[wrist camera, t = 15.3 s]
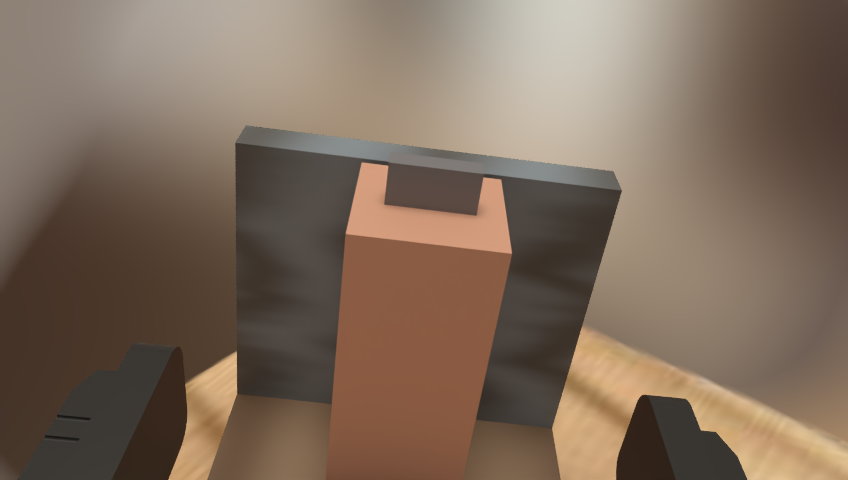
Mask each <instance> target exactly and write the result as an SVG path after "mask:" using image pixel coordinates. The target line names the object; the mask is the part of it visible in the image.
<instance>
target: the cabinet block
mask: <svg viewBox="0 0 848 480" xmlns="http://www.w3.org/2000/svg"><path fill="white" fill-rule="evenodd" d="M511 256H512V250H511V243H510V236H509V229H508V223H507V216H506V209H505V202H504V195H503V189H502V182H501V179H493V178H485V177H484V168H483V163H477V162H469V161H461V160H453V159H445V158H437V157H429V156H421V155H413V154H405V153H396V152H390V157H389V165H388V166H387V165H379V164H371V163H363V162H362V164H361V168H360V172H359V177H358V181H357V186H356V190H355V195H354V199H353V203H352V208H351V212H350V217H349V221H348V226H347V230H346V236H345V248H344V260H343V272H342V285H341V297H340V309H339V322H338V334H337V346H336V359H335V371H334V383H333V396H332V408H331V420H330V432H329V445H328V457H327V469H326V480H463V475H464V471H465V466H466V462H467V457H468V452H469V448H470V443H471V439H472V434H473V430H474V425H475V421H476V416H477V411H478V407H479V402H480V398H481V393H482V389H483V384H484V379H485V375H486V370H487V366H488V361H489V357H490V352H491V348H492V343H493V338H494V334H495V329H496V325H497V320H498V316H499V311H500V306H501V302H502V297H503V293H504V288H505V284H506V279H507V275H508V270H509V265H510V261H511Z"/></svg>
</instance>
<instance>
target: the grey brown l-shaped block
mask: <svg viewBox="0 0 848 480" xmlns="http://www.w3.org/2000/svg"><path fill="white" fill-rule="evenodd" d="M235 146H236V277H237V278H236V282H237V283H236V285H237V396H236V399H235V402H234V405H233V408H232V410H231V413H230V416H229V419H228V422H227V425H226V428H225V431H224V433H223V436H222V439H221V442H220V445H219V448H218V451H217V454H216V456H215V459H214V462H213V465H212V468H211V471H210V474H209V477H208V479H207V480H326V469H327V457H328V445H329V432H330V420H331V408H332V396H333V383H334V371H335V359H336V346H337V334H338V322H339V309H340V297H341V285H342V272H343V260H344V248H345V236H346V230H347V226H348V221H349V217H350V212H351V208H352V203H353V199H354V195H355V190H356V186H357V181H358V177H359V172H360V168H361V164H362V162H363V163H371V164H379V165H387V166H388V165H389V157H390V152H396V153H405V154H413V155H421V156H429V157H437V158H445V159H453V160H461V161H469V162H477V163H483V168H484V177H485V178H493V179H501V182H502V189H503V195H504V202H505V209H506V216H507V223H508V229H509V236H510V243H511V250H512V256H511V261H510V265H509V270H508V275H507V279H506V284H505V288H504V293H503V297H502V302H501V306H500V311H499V316H498V320H497V325H496V329H495V334H494V338H493V343H492V348H491V352H490V357H489V361H488V366H487V370H486V375H485V379H484V384H483V389H482V393H481V398H480V402H479V407H478V411H477V416H476V421H475V425H474V430H473V434H472V439H471V443H470V448H469V452H468V457H467V462H466V466H465V471H464V475H463V480H561V479H560V473H559V467H558V462H557V456H556V450H555V444H554V438H553V432H552V426H553V423H554V419H555V416H556V413H557V409H558V406H559V402H560V399H561V396H562V392H563V389H564V385H565V382H566V379H567V375H568V372H569V368H570V365H571V362H572V358H573V355H574V351H575V348H576V345H577V341H578V338H579V334H580V331H581V328H582V324H583V321H584V317H585V314H586V311H587V307H588V304H589V300H590V297H591V294H592V290H593V286H594V283H595V280H596V276H597V273H598V270H599V266H600V263H601V259H602V256H603V253H604V249H605V246H606V243H607V239H608V235H609V232H610V229H611V226H612V222H613V219H614V215H615V212H616V208H617V205H618V202H619V198H620V195H621V192H622V191H621V188H620V185H619V183H618V181H617V179H616V177H615V174H614V172H613V171H606V170H598V169H590V168H581V167H574V166H566V165H558V164H550V163H542V162H534V161H525V160H518V159H510V158H502V157H494V156H486V155H478V154H469V153H462V152H454V151H445V150H438V149H429V148H421V147H413V146H406V145H397V144H390V143H382V142H374V141H366V140H358V139H350V138H341V137H334V136H325V135H318V134H310V133H301V132H293V131H285V130H278V129H270V128H262V127H253V126H245V128H244V129H243V131H242V133H241V134H240V136H239V138H238V139H237V141H236V144H235Z"/></svg>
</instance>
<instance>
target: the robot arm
mask: <svg viewBox="0 0 848 480" xmlns="http://www.w3.org/2000/svg"><path fill="white" fill-rule="evenodd" d="M186 423H187V401H186V389H185V377H184V366H183V355H182V350H181V348H180V347H177V346H167V345H157V344H147V343H134V344H133V345H132V346H131V347H130V349H129V351H128V352H127V354H126V356H125V358H124V360H123V361H122V363H121V365H120V367H119V369H118V370H117V371H107V370H97V371H96V372H94V373H93V374H92V375H91V376H89V377H88V378H87V379H86V380H85V381H83V382H82V383H81V384H79V385H78V386H77V387H76V388H74V389H73V390H72V392H71V393H70V395H69V397H68V398H67V400H66V401H65V403H64V405H63V406H62V408H61V410H60V411H59V413H58V415H57V419H56V420H54V421H53V423H52V424H51V426H50V428H49V429H48V431H47V433H46V434H45V439H44V440H42V441H41V442H40V444H39V446H38V447H37V449H36V451H35V452H34V454H33V455H32V457H31V459H30V461H29V462H28V464H27V465H26V467H25V469H24V470H23V472H22V474H21V475H20V477H19V478H18V480H168V479H169V476H170V474H171V471H172V469H173V466H174V464H175V461H176V458H177V456H178V453H179V451H180V448H181V446H182V442H183V439H184V435H185V430H186ZM616 480H747V478H746V476H745V473H744V471H743V469H742V466H741V464H740V461H739V459H738V457H737V456H736V454H735V453H734V452H733V451H732V450H731V449H730V448H729V447H728V445H727V444H726V443H725V442H724V441H723V440H722V439H721V438H720V436H719V435H718V434H717V433H716V432H709V431H701V430H700V427H699V425H698V422H697V420H696V417H695V415H694V412H693V409H692V407H691V405H690V403H689V402H688V401H687V400H686V399H681V398H671V397H661V396H651V395H642V396H641V397H640V398H639V400H638V402H637V404H636V407H635V410H634V413H633V415H632V418H631V421H630V424H629V427H628V429H627V432H626V435H625V438H624V441H623V443H622V446H621V449H620V452H619V455H618V460H617V469H616Z"/></svg>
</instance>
